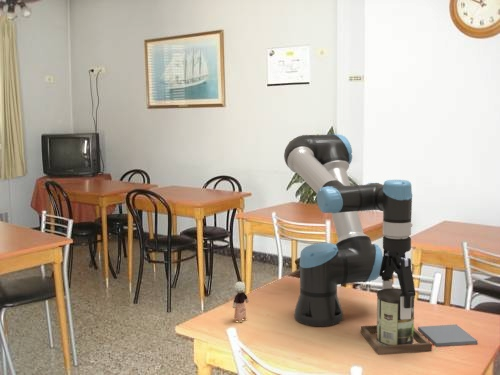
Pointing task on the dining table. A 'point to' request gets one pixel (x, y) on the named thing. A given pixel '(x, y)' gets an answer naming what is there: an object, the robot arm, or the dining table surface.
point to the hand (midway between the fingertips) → (396, 310)
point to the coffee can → (393, 319)
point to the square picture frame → (393, 349)
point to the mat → (447, 335)
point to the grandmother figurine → (240, 302)
